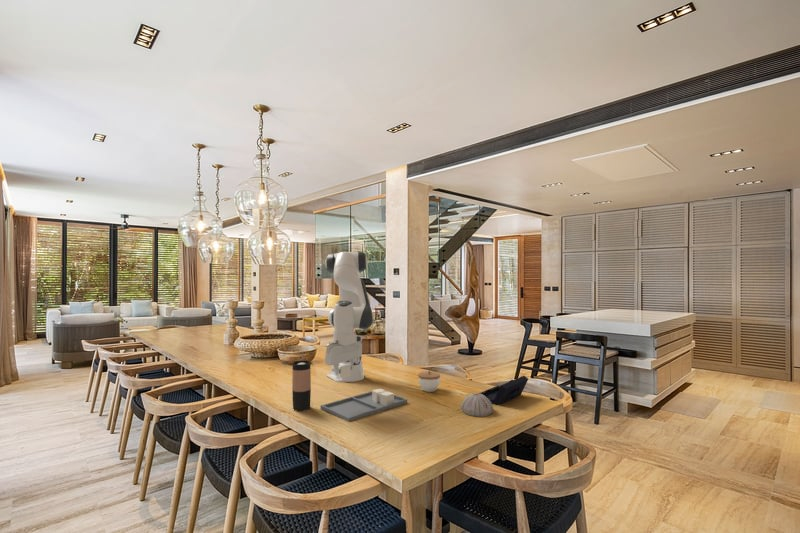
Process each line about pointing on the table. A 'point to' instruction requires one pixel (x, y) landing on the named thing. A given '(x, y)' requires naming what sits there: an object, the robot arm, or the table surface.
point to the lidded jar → (429, 381)
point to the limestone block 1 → (344, 370)
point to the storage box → (506, 391)
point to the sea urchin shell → (477, 405)
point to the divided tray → (359, 406)
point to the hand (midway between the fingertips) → (344, 371)
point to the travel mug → (301, 385)
